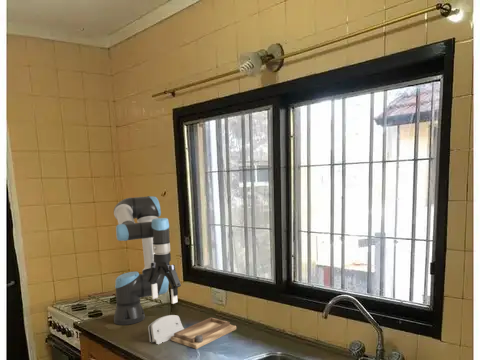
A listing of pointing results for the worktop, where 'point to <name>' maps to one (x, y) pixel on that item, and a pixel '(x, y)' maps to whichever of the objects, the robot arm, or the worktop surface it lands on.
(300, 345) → the worktop surface
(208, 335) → the wooden tray
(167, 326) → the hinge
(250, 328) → the worktop surface
